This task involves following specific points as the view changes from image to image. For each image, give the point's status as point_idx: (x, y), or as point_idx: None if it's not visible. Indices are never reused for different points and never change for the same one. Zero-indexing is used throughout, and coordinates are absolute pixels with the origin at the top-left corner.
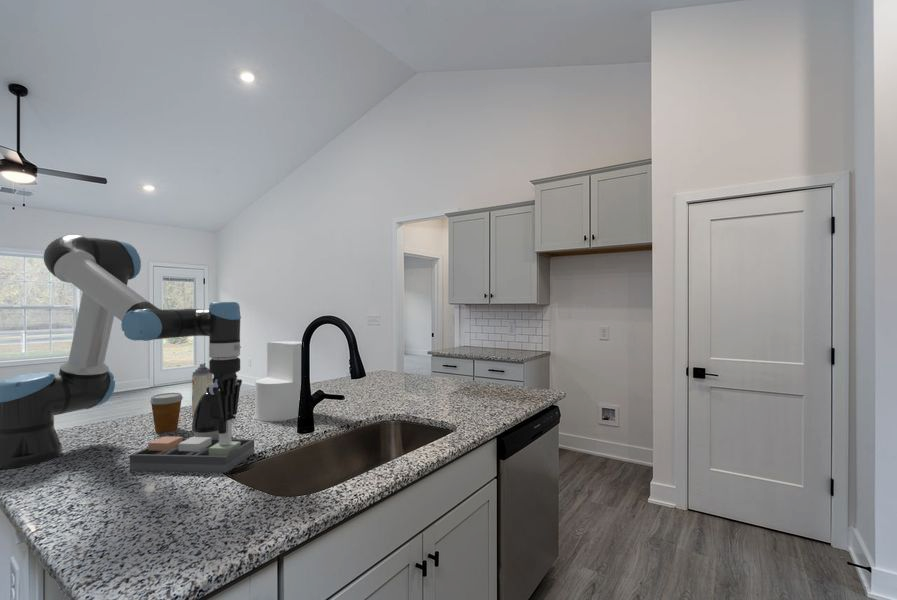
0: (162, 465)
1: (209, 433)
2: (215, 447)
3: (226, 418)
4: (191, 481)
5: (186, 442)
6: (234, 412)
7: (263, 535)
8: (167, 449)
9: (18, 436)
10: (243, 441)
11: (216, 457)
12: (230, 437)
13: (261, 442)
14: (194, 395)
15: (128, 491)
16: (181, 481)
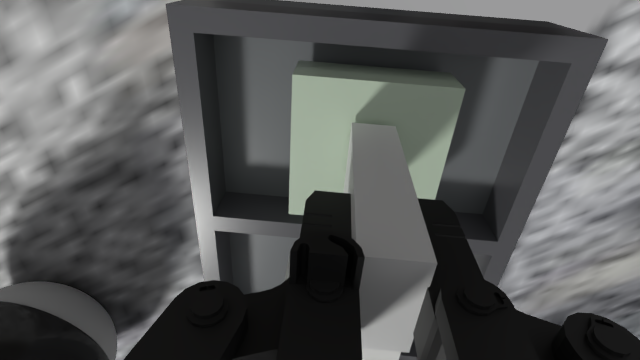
0: None
1: (90, 329)
2: (421, 193)
3: (495, 309)
4: (618, 149)
5: (378, 353)
6: (242, 321)
7: None
8: None
9: None
10: (203, 88)
11: (573, 112)
12: (368, 145)
13: (7, 47)
14: None
15: (631, 313)
16: (597, 192)
